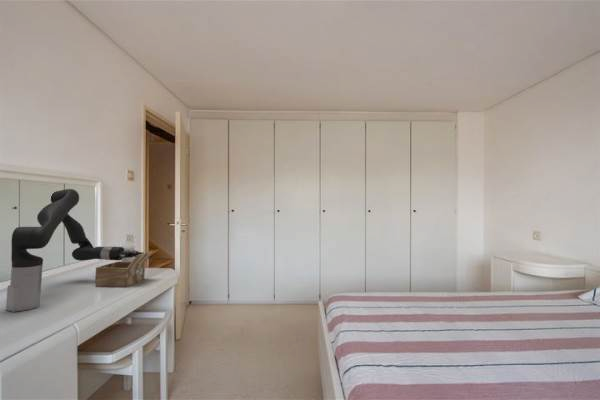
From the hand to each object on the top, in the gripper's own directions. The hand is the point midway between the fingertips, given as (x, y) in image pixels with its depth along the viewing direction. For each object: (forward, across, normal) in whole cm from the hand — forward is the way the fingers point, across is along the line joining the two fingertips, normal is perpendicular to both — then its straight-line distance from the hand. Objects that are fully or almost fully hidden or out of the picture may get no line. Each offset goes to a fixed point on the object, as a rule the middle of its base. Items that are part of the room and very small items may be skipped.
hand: (143, 254), depth 158 cm
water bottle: (-20, +20, +16) cm, 32 cm away
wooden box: (-11, 0, +16) cm, 20 cm away
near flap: (-1, 0, +2) cm, 2 cm away
